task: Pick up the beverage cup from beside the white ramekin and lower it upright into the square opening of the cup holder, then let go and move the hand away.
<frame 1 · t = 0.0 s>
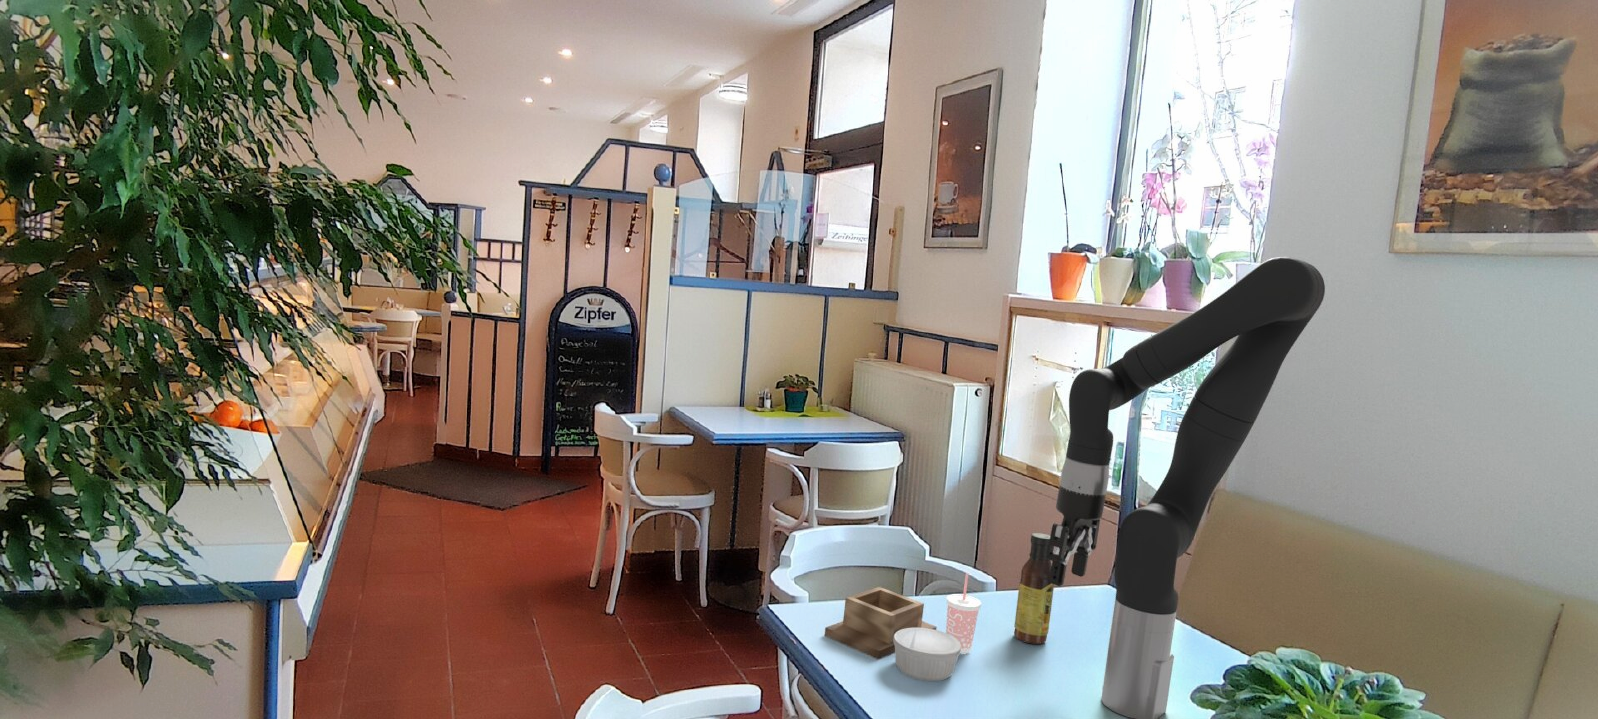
hand: (1067, 579, 154), 17 cm above the table, tool pointing down, fingers open, 8 cm apart
cup holder: (881, 634, 166), on the table
ramekin: (923, 671, 153), on the table
sauce bottle: (1029, 639, 172), on the table
beverage cup: (957, 649, 164), on the table
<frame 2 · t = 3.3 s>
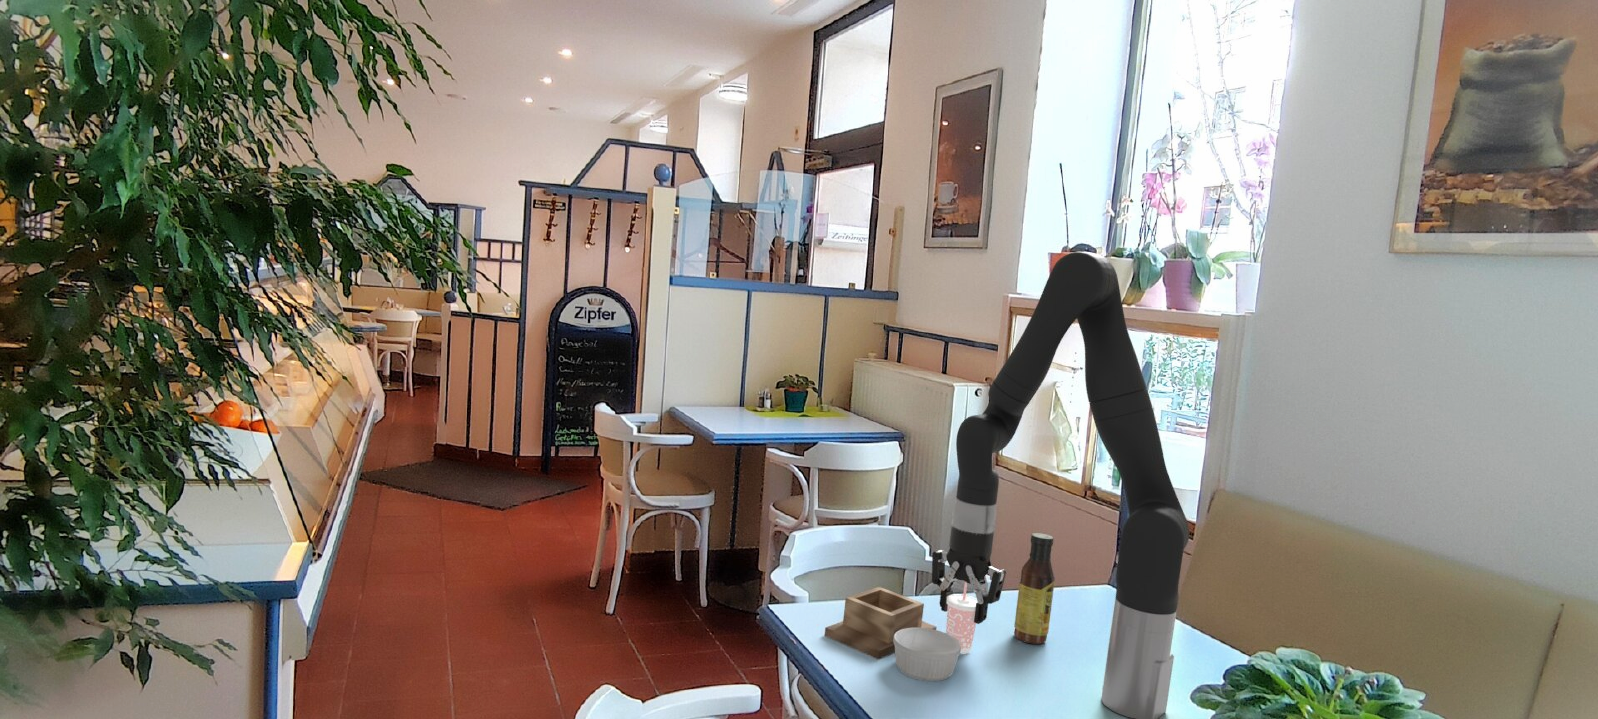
hand: (961, 615, 163), 6 cm above the table, tool pointing down, fingers closed on beverage cup, 6 cm apart
beverage cup: (957, 649, 164), on the table, touching gripper
everything else where it was.
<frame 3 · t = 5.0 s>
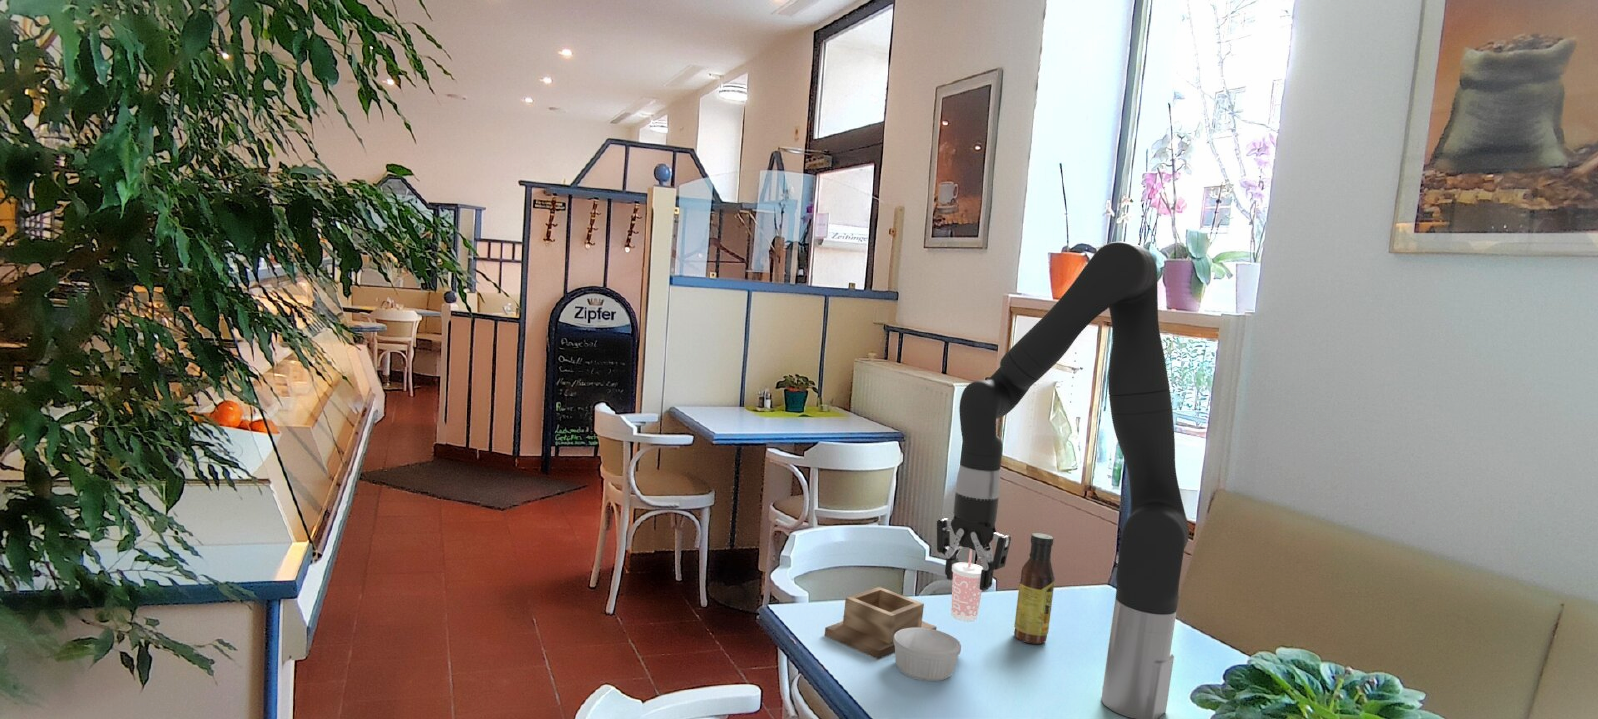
hand: (967, 583, 162), 12 cm above the table, tool pointing down, fingers closed on beverage cup, 6 cm apart
beverage cup: (963, 617, 163), point 6 cm above the table, touching gripper
everything else where it was.
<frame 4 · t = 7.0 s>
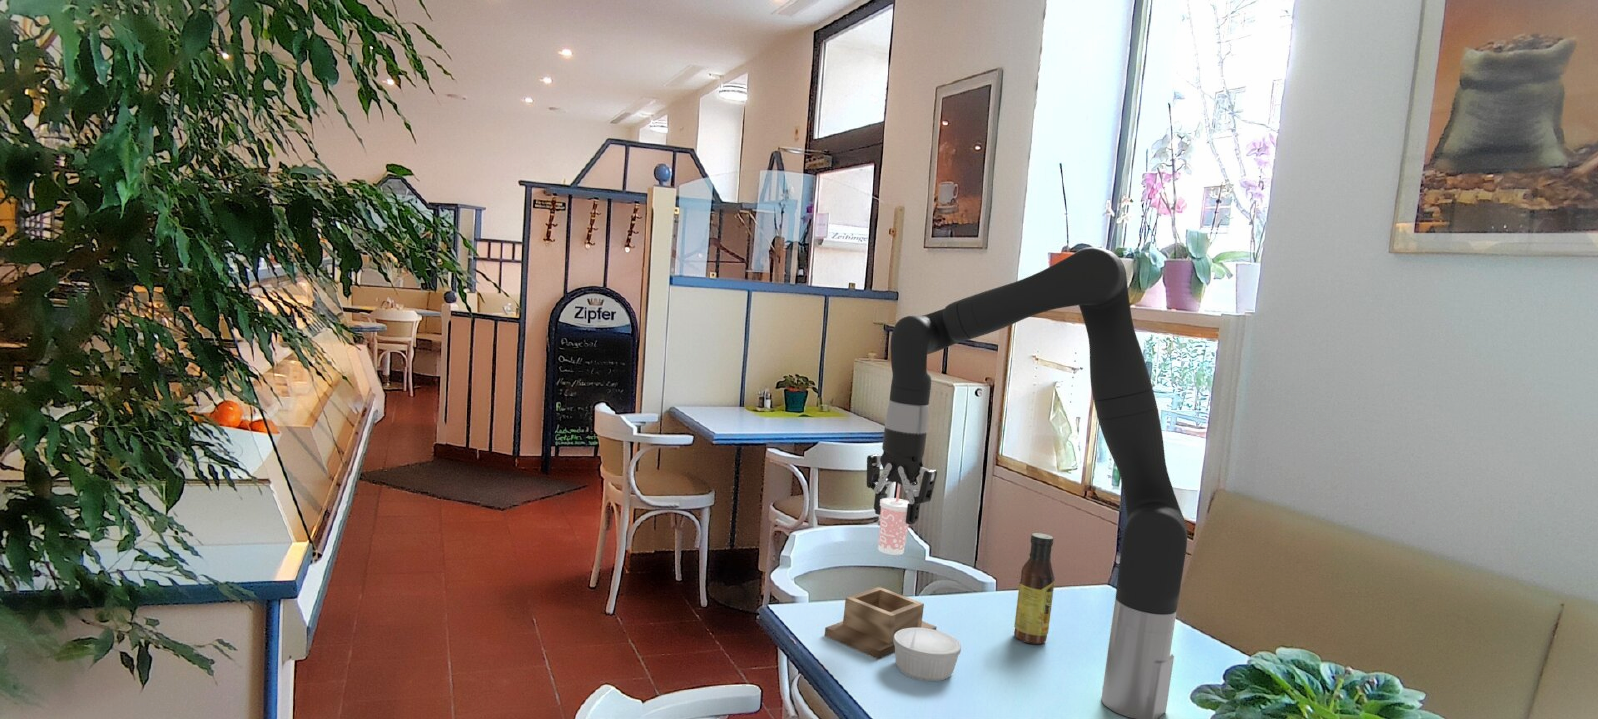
hand: (894, 518, 164), 22 cm above the table, tool pointing down, fingers closed on beverage cup, 6 cm apart
beverage cup: (890, 551, 165), point 16 cm above the table, touching gripper
everything else where it was.
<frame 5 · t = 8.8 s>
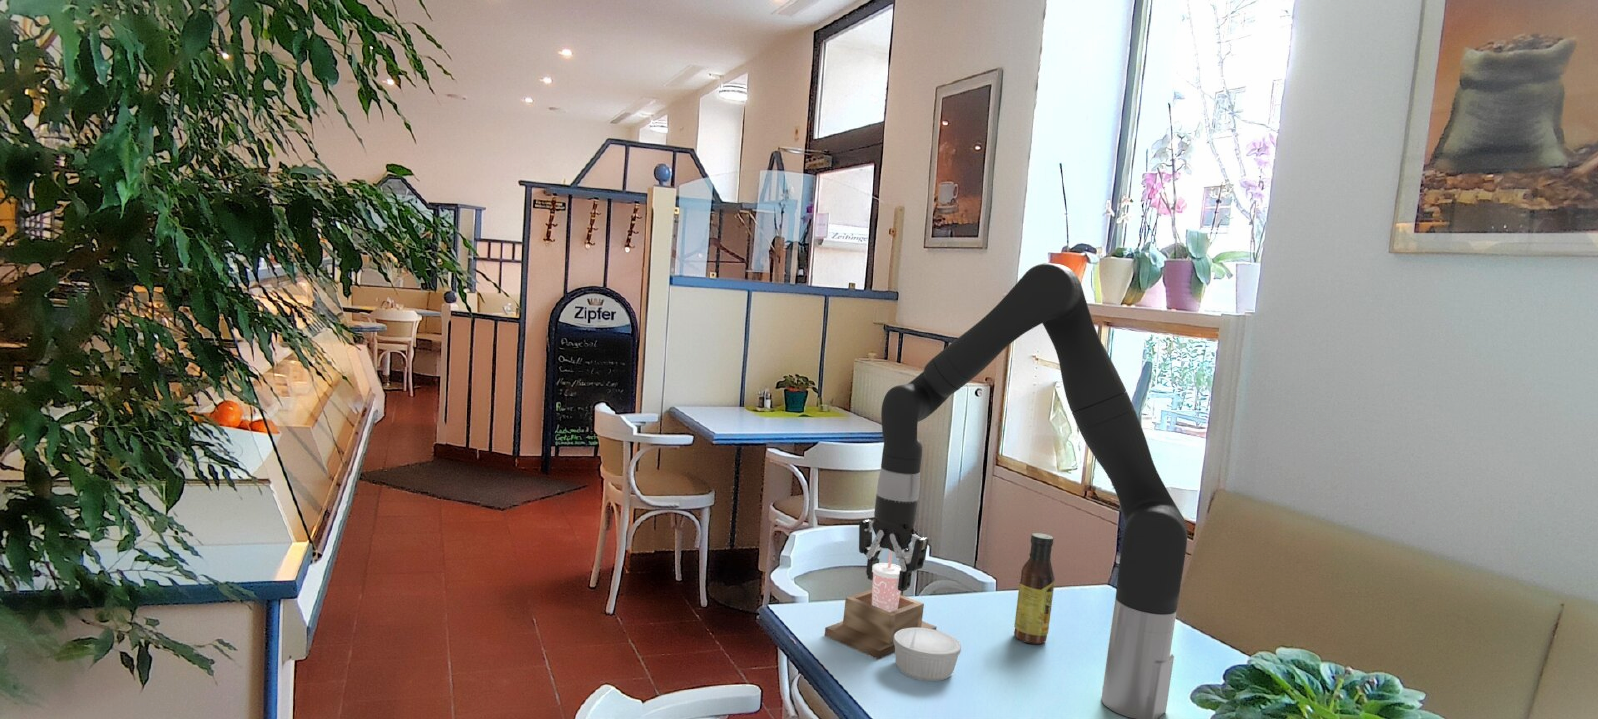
hand: (887, 584, 165), 10 cm above the table, tool pointing down, fingers closed on beverage cup, 6 cm apart
beverage cup: (883, 617, 166), point 3 cm above the table, touching gripper
everything else where it was.
when the fingers open (8 cm above the table, at t = 10.3 s): beverage cup stays where it is, resting on cup holder.
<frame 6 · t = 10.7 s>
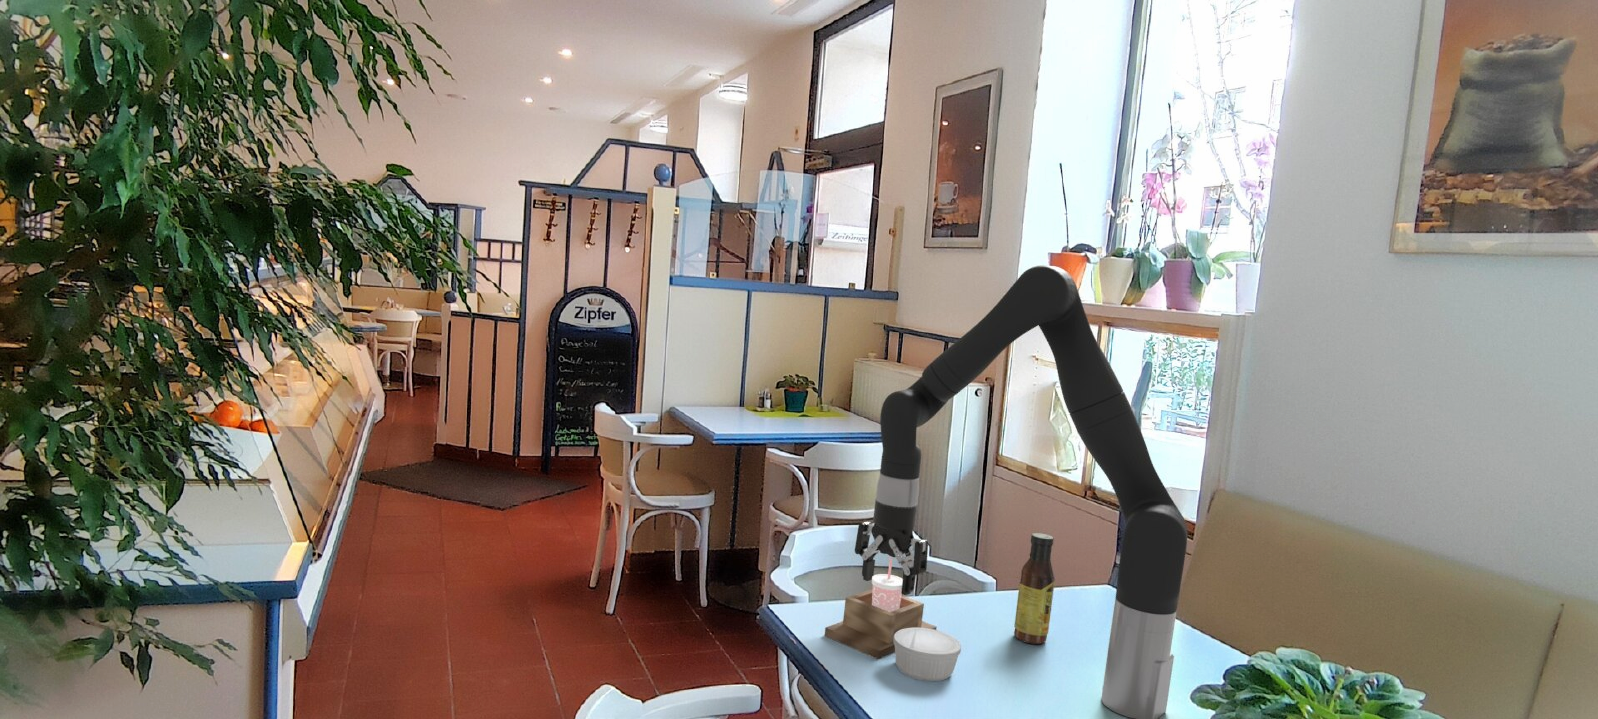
hand: (886, 586, 165), 9 cm above the table, tool pointing down, fingers open, 8 cm apart
beverage cup: (883, 628, 166), point 1 cm above the table, touching cup holder
everything else where it was.
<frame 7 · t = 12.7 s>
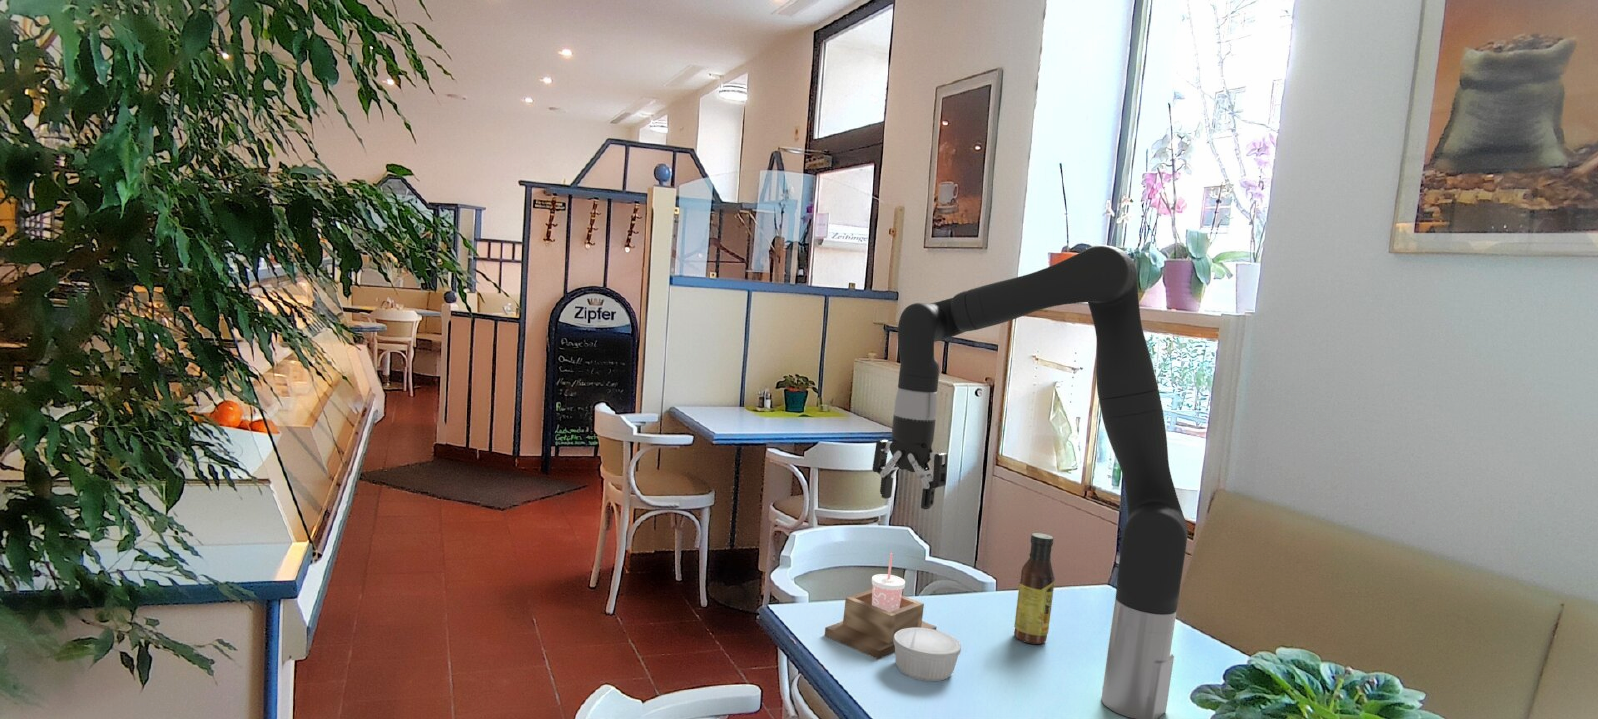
hand: (905, 503, 164), 25 cm above the table, tool pointing down, fingers open, 8 cm apart
nothing on the table moved.
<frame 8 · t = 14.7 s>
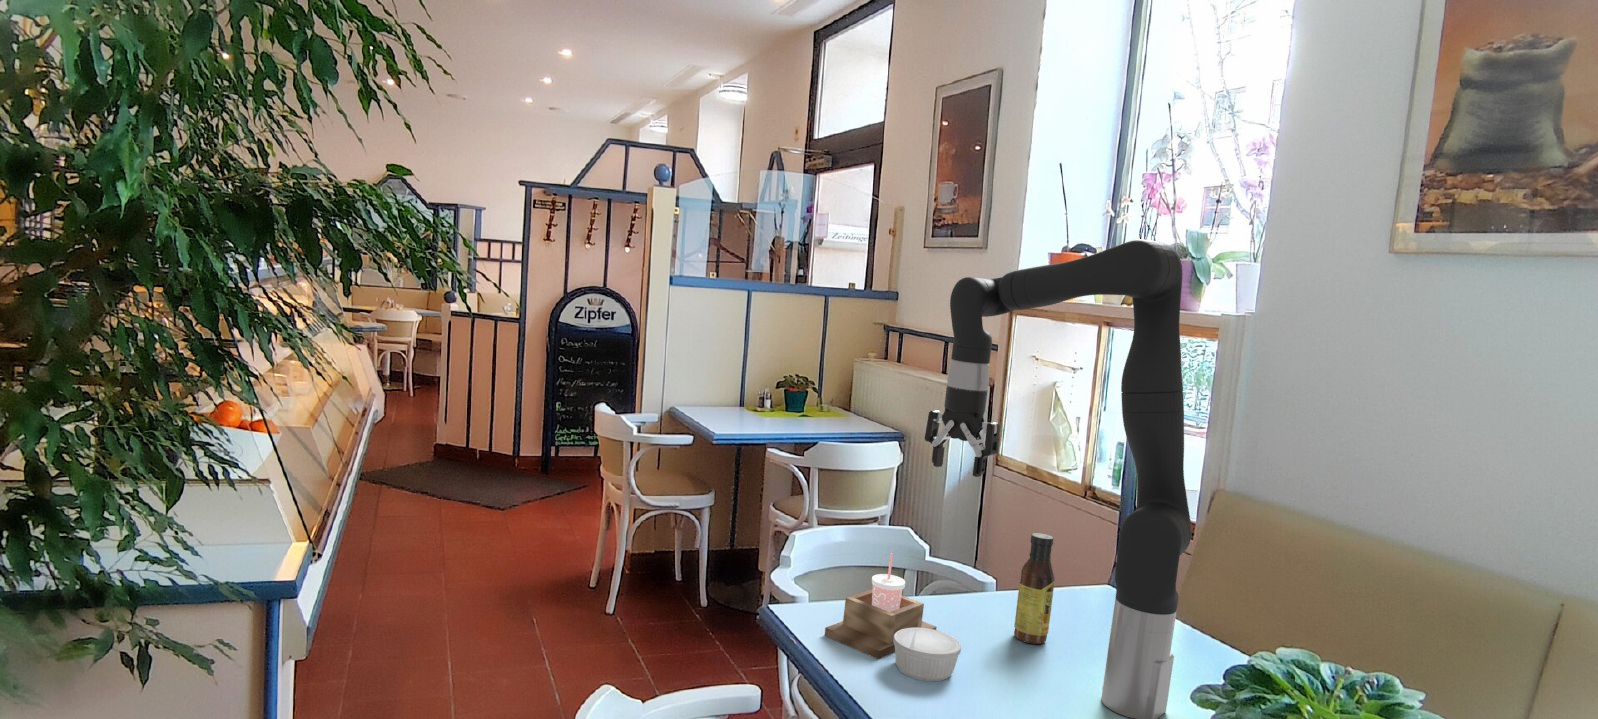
hand: (956, 471, 170), 30 cm above the table, tool pointing down, fingers open, 8 cm apart
nothing on the table moved.
at the end: beverage cup 0.2 cm off-centre on the cup holder, point 1.3 cm above the cup holder's base; beverage cup tilted 0°; the gripper is holding nothing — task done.
